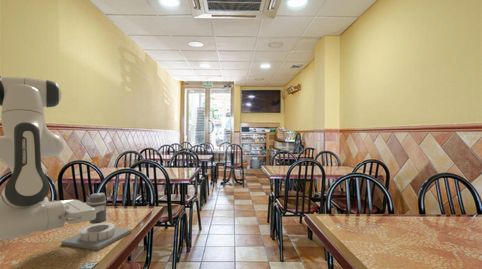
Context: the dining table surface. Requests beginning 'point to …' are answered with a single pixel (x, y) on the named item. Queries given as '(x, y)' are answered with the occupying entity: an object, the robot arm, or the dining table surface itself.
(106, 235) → the mount
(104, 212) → the lens
